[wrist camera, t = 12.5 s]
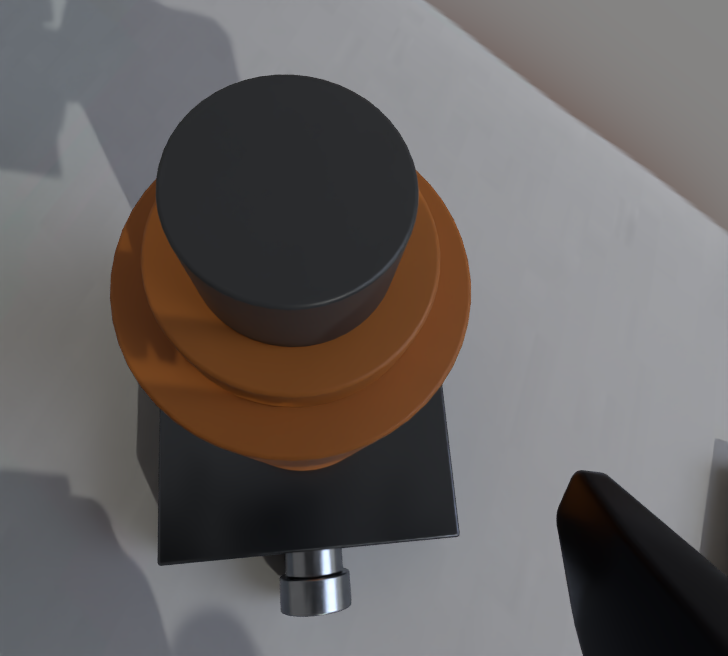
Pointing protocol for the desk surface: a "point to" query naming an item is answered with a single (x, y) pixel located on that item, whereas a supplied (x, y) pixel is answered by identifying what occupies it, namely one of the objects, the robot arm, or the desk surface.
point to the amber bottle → (289, 275)
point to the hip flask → (305, 506)
